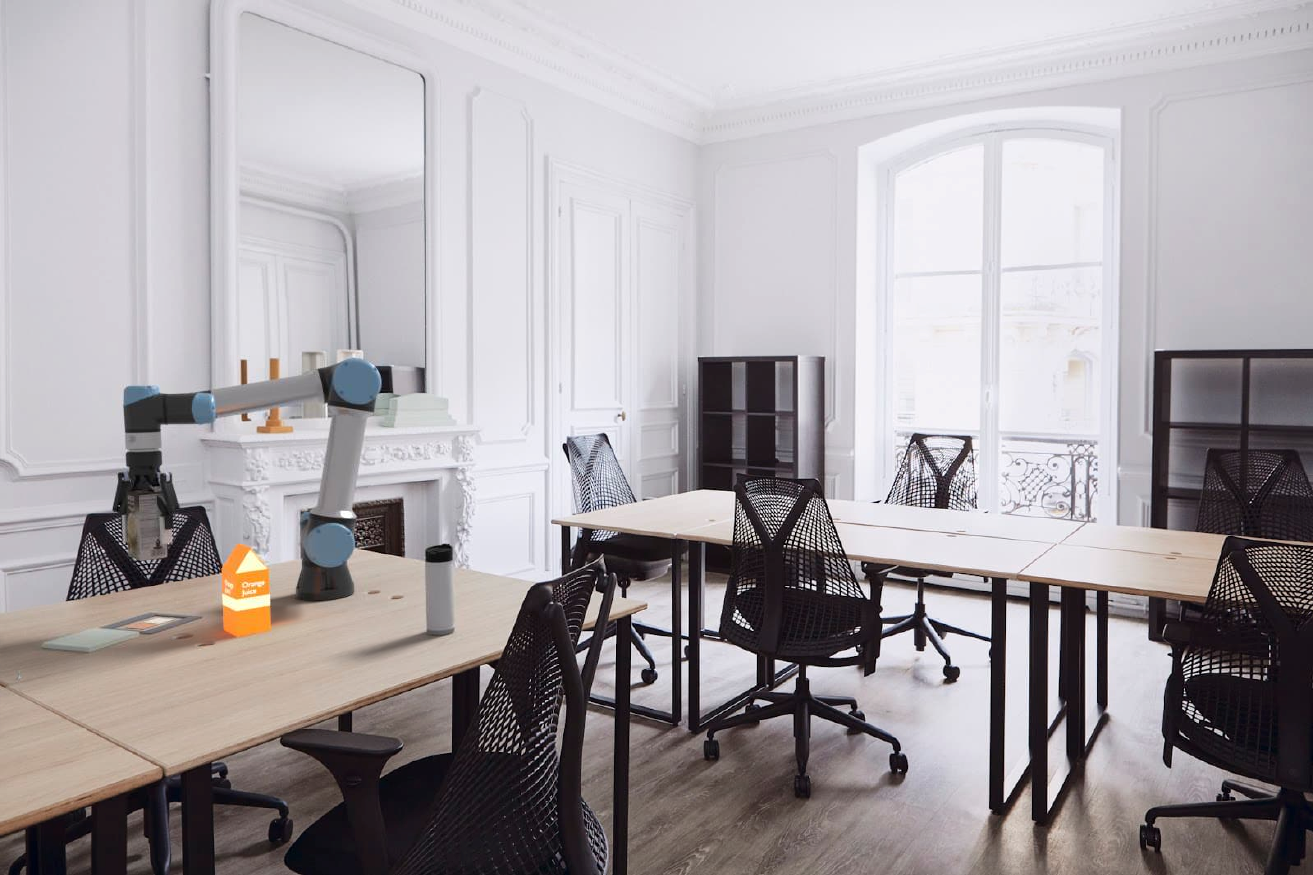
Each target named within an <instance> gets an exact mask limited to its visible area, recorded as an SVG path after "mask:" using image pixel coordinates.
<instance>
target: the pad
mask: <svg viewBox="0 0 1313 875" xmlns="http://www.w3.org/2000/svg"><path fill="white" fill-rule="evenodd" d="M138 637H140V633H139V632H137V631H125V630H113V629H101V628H100V627H93V628H89V629H87V630H83V631H79V632H77V633H73V634H70V635H66V636H62V637H58V638H56V639H52V640H49V641H46V642H42V649H51V650H60V651H61V650H62V651H63V650H64V651H74V652H81V653H83V652H85V653H91V652H94V651H98V650H101V649H103V648H107V647H110V646H113V645H116V644H119V643H122V642H124V641H125V642H126V641H128V640H129V641H130V640H131V639H135V638H138Z"/></svg>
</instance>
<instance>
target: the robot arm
mask: <svg viewBox="0 0 1313 875" xmlns="http://www.w3.org/2000/svg"><path fill="white" fill-rule="evenodd" d="M381 389H382V377H381V374H380V372H379V370H378V368H377V367H376V366H375V365H374V364H373V363H372V362H370V361H368V360H367V359H364V358H360V357H357V358H356V357H350V358H346V359H345V360H342V361H340V362H337V363H335V364H331V365H329V366H325V367H319V368H315V369H314V370H313V372H312V373H306V374H299V375H293V376H287V377H281V378H276V379H269V380H264V381H263V380H262V381H258V382H256V381H255V382H249V383H244V384H238V385H232V386H226V387H219V388H214V389H209V390H202V391H197V392H194V391H193V392H187V393H185V392H184V393H182V392H181V393H161V391H160V387H159V386H158V385H128V386H126V387H125V388H124V389H123V404H122V407H123V422H124V423H123V424H124V438H125V439H124V441H125V443H124V445H125V450H128V451H126V453H125V465H126V467H127V468H129V469H128V471H119V472H118V473H117V484H116V485H117V486H116V489H115V490H116V491H115V496H114V500H113V503H112V512H113V513H118V515H120V517H119V518H120V527H121V529H122V530H121V531H122V543H128V539H127V516H126V505H127V501H126V492H125V491H135V490H142V489H145V490H148V492H158V491H162V492H163V495H164V499H163V498H161V497H159V496H157V506H158V507H159V509H160V511H161V513H162V515H160V516H161V517H159V518H160V542H161V544H166V543H167V544H171V543H173V532H172V530H173V529H174V515H176V514H178V513H180V512H181V507H180V503H179V500H178V497H177V493H176V491H175V487H174V484H173V473H172V472H170V471H169V472H161V469H160V468H161V466H162V465H163V454H162V450H160V449H161V448H162V447H163V446H162V428H161V427H162V426H163V425H165V426H166V425H167V426H168V425H207V424H208V425H209V424H213V423H215V422H216V419H221V418H226V417H231V416H239V415H244V414H250V413H255V412H262V411H267V410H272V409H273V410H274V409H279V408H284V407H290V406H297V405H303V404H308V403H315V402H319V403H321V404H323V405H324V404H327V406H326V407H327V408H328V409H329V411H330V412H331V418H330V419H331V421H330V426H329V430H328V431H329V432H328V438H327V444H326V451H325V456H324V462H323V469H322V474H321V480H320V481H321V482H320V486H319V490H318V491H319V493H318V499H317V504H316V506H314V507H313V508H311V509H310V510H309V511H308V512H307V511H306V512H305V511H304V512H302V514H301V515H300V521H299V526H300V546H301V547H300V548H301V553H300V554H301V570H300V573H299V577H298V580H297V584H296V586H295V598H296V599H298V600H303V601H327V600H335V599H340V598H346V597H348V596H352V595H353V594H354V593H355V583H354V581H353V577H352V575H351V572H350V569H349V567H348V560H349V559H350V558H351V557H352V555H353V553H354V550H355V546H356V543H355V542H356V539H355V536H354V535H355V530H356V529H355V528H356V524H357V517H358V516H357V515H356V514H355V512H354V511H353V505H354V498H355V491H356V486H357V480H358V474H359V467H360V462H361V456H362V450H363V444H364V437H365V432H366V425H367V420H368V418H370V417H371V416H373V415H374V413H375V409H376V408H375V407H376V402H377V398H378V395H379V394H380V392H381ZM161 425H162V426H161Z"/></svg>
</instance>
